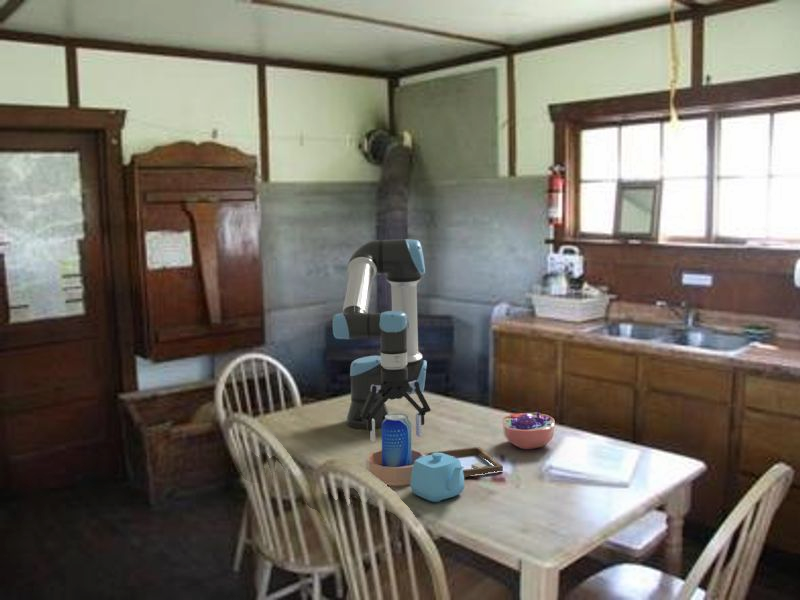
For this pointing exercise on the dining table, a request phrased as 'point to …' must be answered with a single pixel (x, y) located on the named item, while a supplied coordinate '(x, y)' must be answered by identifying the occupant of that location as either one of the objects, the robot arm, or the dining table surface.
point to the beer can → (396, 440)
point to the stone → (478, 465)
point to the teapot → (437, 477)
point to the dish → (391, 469)
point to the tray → (473, 451)
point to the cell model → (528, 429)
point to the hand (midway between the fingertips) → (396, 438)
